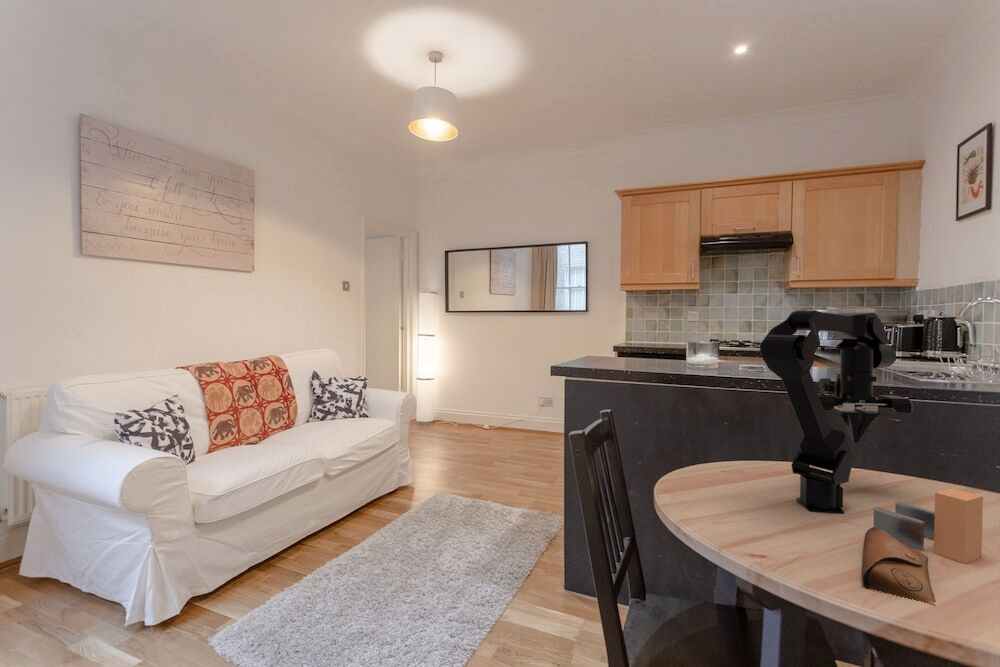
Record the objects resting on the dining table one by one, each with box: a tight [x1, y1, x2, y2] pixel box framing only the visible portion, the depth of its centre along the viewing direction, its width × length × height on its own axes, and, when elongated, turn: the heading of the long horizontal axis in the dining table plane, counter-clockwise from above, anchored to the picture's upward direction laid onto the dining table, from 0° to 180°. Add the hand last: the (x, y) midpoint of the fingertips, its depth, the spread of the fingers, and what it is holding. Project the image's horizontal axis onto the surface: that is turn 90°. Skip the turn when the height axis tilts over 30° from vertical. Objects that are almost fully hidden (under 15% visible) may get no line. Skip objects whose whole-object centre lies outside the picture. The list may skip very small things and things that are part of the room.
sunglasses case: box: [861, 526, 937, 607], centre depth 74 cm, size 18×7×7 cm
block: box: [933, 487, 984, 565], centre depth 78 cm, size 4×5×10 cm
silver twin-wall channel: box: [873, 500, 935, 552], centre depth 84 cm, size 7×8×5 cm
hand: (854, 442), depth 104 cm, fingers closed
